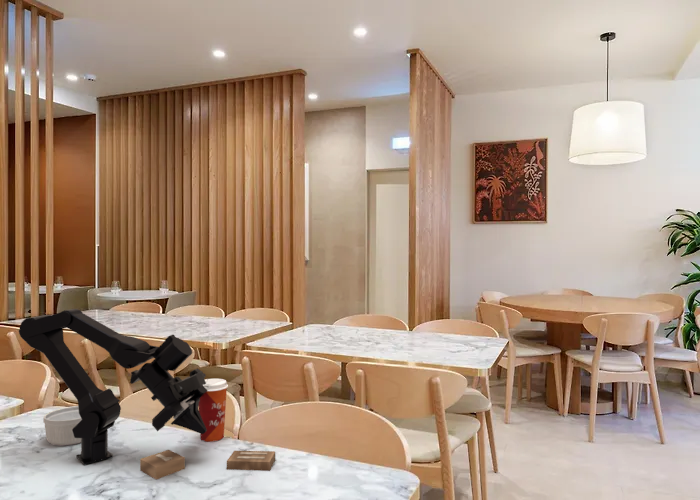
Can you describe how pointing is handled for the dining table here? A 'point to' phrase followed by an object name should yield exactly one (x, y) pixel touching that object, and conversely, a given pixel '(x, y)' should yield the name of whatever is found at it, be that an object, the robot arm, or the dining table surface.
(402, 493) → the dining table surface
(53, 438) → the ramekin
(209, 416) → the coffee cup
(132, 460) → the dining table surface
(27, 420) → the dining table surface
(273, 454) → the wooden block
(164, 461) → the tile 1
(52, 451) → the dining table surface
